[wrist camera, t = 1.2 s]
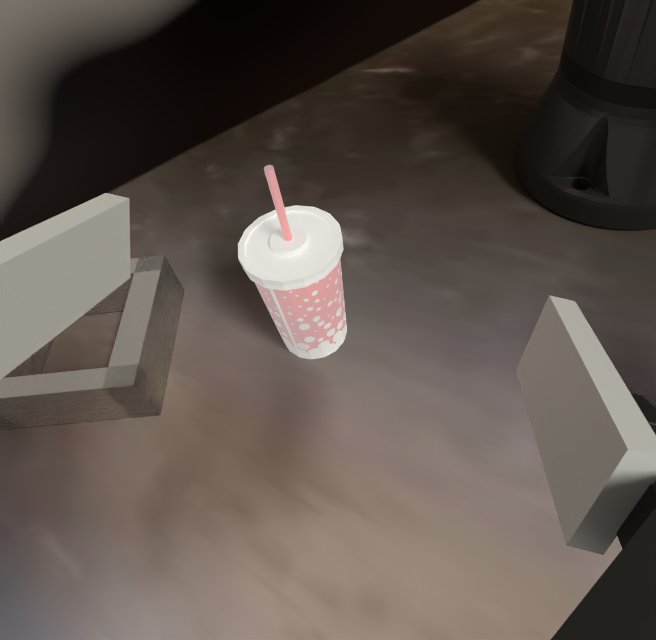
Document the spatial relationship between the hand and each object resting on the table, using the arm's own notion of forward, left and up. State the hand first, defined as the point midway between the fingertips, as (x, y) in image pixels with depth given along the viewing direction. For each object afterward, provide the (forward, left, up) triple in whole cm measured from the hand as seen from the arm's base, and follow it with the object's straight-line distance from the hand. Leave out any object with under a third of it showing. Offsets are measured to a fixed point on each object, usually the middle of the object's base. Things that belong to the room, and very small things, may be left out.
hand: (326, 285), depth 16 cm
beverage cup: (+3, -11, -17) cm, 21 cm away
